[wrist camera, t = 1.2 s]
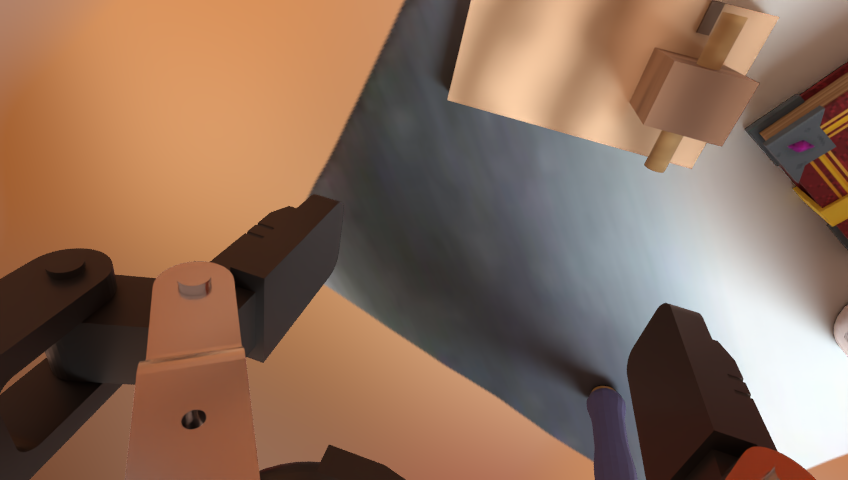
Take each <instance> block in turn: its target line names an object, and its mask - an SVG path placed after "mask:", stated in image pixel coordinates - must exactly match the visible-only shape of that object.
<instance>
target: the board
mask: <svg viewBox="0 0 848 480" xmlns="http://www.w3.org/2000/svg"><path fill="white" fill-rule="evenodd" d="M722 12H727V13H731V14H735V15H739V16H743V17H747V18H748V19H747V21H746V23H745V25H744V27H743V28H742V30H741V32H740V34H739V36H738V38H737V39H736V41H735V43H734V45H733V47H732V49H731V50H730V52H729V54H728V56H727V58H726V60H725V61H724V63H723V65H725V66H727V67H729V68H731V69H733V70H735V71H737V72H739V73H741V74H743V75H745V76H746V74H747V72H748V70H749V69H750V67H751V65H752V64H753V62H754V60H755V58H756V57H757V55H758V53H759V51H760V50H761V48H762V46H763V45H764V43H765V41H766V39H767V38H768V36H769V34H770V32H771V31H772V29H773V27H774V26H775V24H776V22H777V20H778V19H779V17H777V16H773V15H769V14H765V13H761V12H757V11H753V10H749V9H745V8H741V7H737V6H733V5H729V4H725V3H722V2H718V1H714V0H471V3H470V7H469V12H468V16H467V20H466V24H465V28H464V33H463V37H462V41H461V45H460V49H459V54H458V58H457V62H456V66H455V70H454V75H453V79H452V83H451V87H450V91H449V96H448V100H449V101H453V102H456V103H460V104H463V105H467V106H471V107H474V108H478V109H481V110H485V111H488V112H492V113H495V114H499V115H502V116H506V117H509V118H513V119H517V120H520V121H524V122H527V123H531V124H534V125H538V126H541V127H545V128H548V129H552V130H555V131H559V132H563V133H566V134H570V135H573V136H577V137H580V138H584V139H587V140H591V141H594V142H598V143H602V144H605V145H609V146H612V147H616V148H619V149H623V150H626V151H630V152H633V153H637V154H640V155H644V156H649V154H650V152H651V150H652V148H653V146H654V145H655V143H656V141H657V139H658V137H659V135H660V133H661V131H662V130H660V129H656V128H653V127H649V126H645V125H643V124H642V122H641V120H640V119H639V117H638V116H637V114H636V112H635V111H634V109H633V108H632V106H631V104H630V103H629V102H630V100H631V98H632V96H633V94H634V91H635V89H636V87H637V85H638V83H639V81H640V78H641V76H642V74H643V72H644V70H645V67H646V65H647V63H648V61H649V59H650V57H651V54H652V52H653V50H654V48H655V47H656V48H660V49H664V50H667V51H671V52H675V53H679V54H683V55H687V56H690V57H694V58H698V59H699V57H700V55H701V53H702V51H703V49H704V47H705V45H706V43H707V42H708V40H709V38H710V36H711V34H712V32H713V30H714V28H715V26H716V24H717V22H718V20H719V18H720V16H721V14H722ZM706 143H707V142H703V141H699V140H696V139H692V138H689V137H685V136H684V137H683V138H682V140H681V142H680V144H679V146H678V147H677V149H676V151H675V153H674V155H673V157H672V158H671V160H670V162H669V163H672V164H676V165H679V166H683V167H686V168H690V169H692V167H693V165H694V164H695V162H696V160H697V158H698V157H699V155H700V153H701V151H702V150H703V148H704V146H705V145H706Z"/></svg>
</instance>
